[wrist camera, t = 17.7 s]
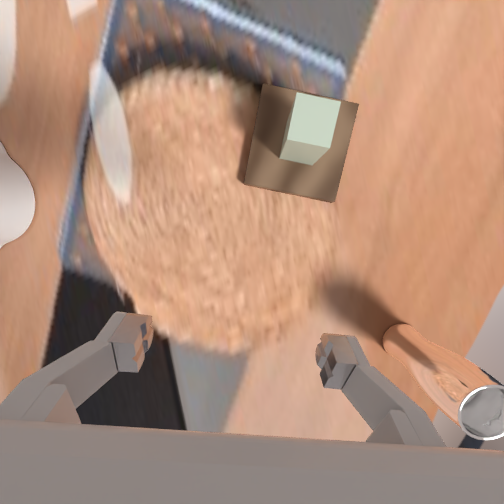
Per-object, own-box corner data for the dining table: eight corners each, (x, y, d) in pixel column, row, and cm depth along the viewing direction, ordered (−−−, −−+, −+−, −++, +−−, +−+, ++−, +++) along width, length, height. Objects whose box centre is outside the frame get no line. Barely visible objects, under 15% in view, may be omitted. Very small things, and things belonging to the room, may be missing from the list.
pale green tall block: (279, 158, 34) (287, 139, 26) (286, 123, 33) (296, 92, 25) (312, 165, 34) (330, 148, 26) (320, 130, 33) (341, 101, 25)
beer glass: (372, 334, 39) (445, 403, 24) (408, 313, 38) (506, 371, 23) (391, 366, 40) (473, 453, 25) (427, 346, 39) (534, 422, 24)
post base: (244, 184, 36) (242, 178, 30) (262, 89, 34) (264, 64, 28) (331, 202, 36) (345, 199, 31) (354, 109, 34) (373, 87, 29)
